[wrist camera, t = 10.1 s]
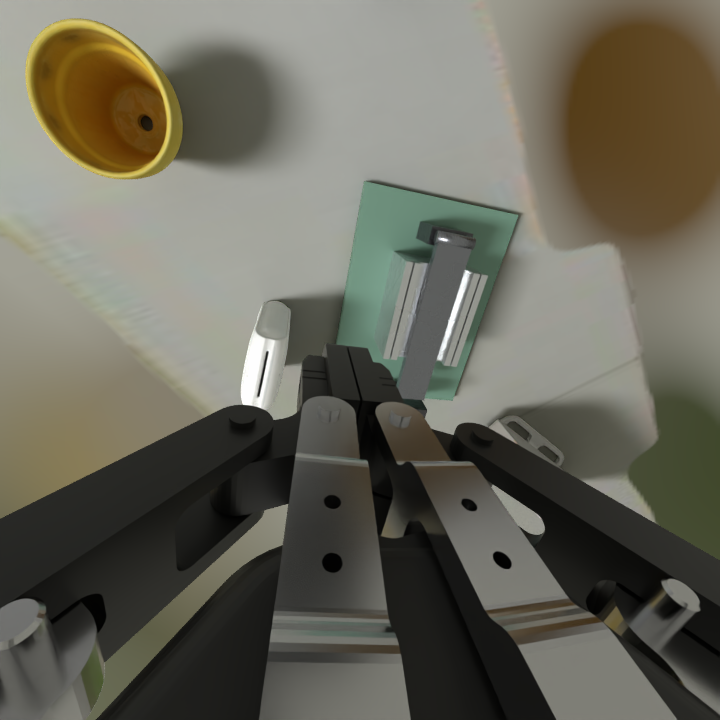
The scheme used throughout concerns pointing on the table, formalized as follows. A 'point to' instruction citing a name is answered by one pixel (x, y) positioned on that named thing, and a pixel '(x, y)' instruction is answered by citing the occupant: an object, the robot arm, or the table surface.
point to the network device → (531, 442)
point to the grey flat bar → (433, 312)
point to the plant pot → (102, 99)
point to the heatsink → (405, 297)
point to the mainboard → (398, 233)
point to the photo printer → (266, 356)
